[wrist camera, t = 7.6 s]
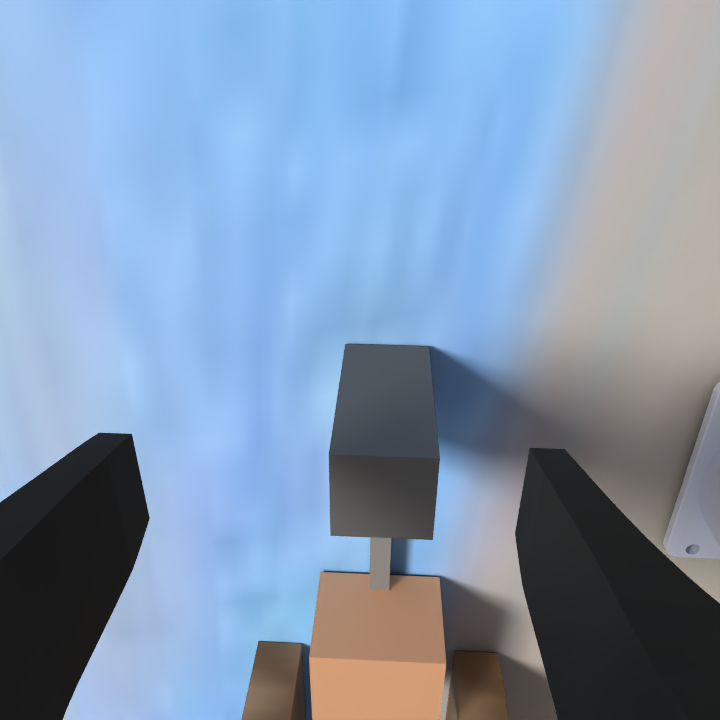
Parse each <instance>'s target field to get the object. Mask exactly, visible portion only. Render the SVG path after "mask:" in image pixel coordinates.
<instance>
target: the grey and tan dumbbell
mask: <svg viewBox="0 0 720 720" xmlns="http://www.w3.org/2000/svg"><path fill="white" fill-rule="evenodd" d="M439 461H440V456H439V445H438V435H437V425H436V415H435V404H434V394H433V384H432V373H431V363H430V353H429V346H398V345H363V344H345V350H344V356H343V363H342V370H341V377H340V383H339V390H338V397H337V403H336V410H335V417H334V424H333V430H332V437H331V444H330V450H329V481H330V528H331V536H352V537H371V545H370V574H355V573H332V572H320V579H319V587H318V594H317V602H316V609H315V617H314V624H313V632H312V640H311V647H310V655H309V664H310V684H311V704H312V720H440V714H441V705H442V696H443V688H444V679H445V670H446V654H445V641H444V628H443V615H442V602H441V589H440V577H424V576H401V575H390V559H391V538H401V539H425V540H433V531H434V519H435V508H436V496H437V485H438V473H439Z"/></svg>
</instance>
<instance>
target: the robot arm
mask: <svg viewBox="0 0 720 720" xmlns="http://www.w3.org/2000/svg"><path fill="white" fill-rule="evenodd" d="M148 521H149V514H148V509H147V504H146V500H145V495H144V490H143V485H142V480H141V476H140V471H139V466H138V461H137V456H136V452H135V447H134V442H133V437H132V434H118V433H98V434H97V435H95V436H93V437H92V438H90V439H89V440H87V441H86V442H84V443H83V444H82V445H80V446H79V447H77V448H76V449H74V450H73V451H72V452H70V453H69V454H67V455H66V456H65V457H63V458H62V459H60V460H59V461H58V462H56V463H55V464H54V465H52V466H51V467H49V468H48V469H47V470H45V471H44V472H43V473H41V474H40V475H38V476H37V477H35V478H34V479H33V480H31V481H30V482H28V483H27V484H26V485H24V486H23V487H21V488H20V489H19V490H17V491H16V492H14V493H13V494H12V495H10V496H9V497H7V498H6V499H4V500H3V501H2V502H0V720H63V717H64V714H65V712H66V709H67V707H68V705H69V702H70V700H71V698H72V696H73V693H74V691H75V689H76V686H77V684H78V682H79V680H80V678H81V676H82V674H83V672H84V670H85V668H86V666H87V663H88V661H89V659H90V657H91V655H92V653H93V651H94V649H95V647H96V645H97V643H98V641H99V639H100V637H101V635H102V633H103V631H104V629H105V626H106V624H107V622H108V620H109V618H110V616H111V614H112V612H113V610H114V608H115V606H116V604H117V602H118V600H119V597H120V595H121V593H122V591H123V589H124V587H125V585H126V583H127V581H128V578H129V576H130V574H131V572H132V570H133V567H134V564H135V561H136V559H137V556H138V553H139V550H140V547H141V544H142V541H143V537H144V534H145V531H146V528H147V525H148ZM515 536H516V543H517V551H518V558H519V565H520V572H521V579H522V585H523V589H524V593H525V597H526V601H527V605H528V609H529V612H530V616H531V620H532V624H533V627H534V631H535V635H536V638H537V642H538V646H539V650H540V653H541V657H542V661H543V664H544V668H545V672H546V675H547V679H548V683H549V686H550V690H551V694H552V697H553V701H554V705H555V709H556V713H557V717H558V720H720V603H719V602H717V601H716V600H715V599H714V598H712V597H711V596H710V595H709V594H707V593H706V592H705V591H704V590H703V589H702V588H700V587H699V586H698V585H697V584H696V583H695V582H693V581H692V580H691V579H690V578H689V577H688V576H687V575H686V574H685V573H683V572H682V571H681V570H680V569H679V568H678V567H677V566H676V565H675V564H674V563H673V562H672V561H670V560H669V559H668V558H667V557H666V556H665V555H664V554H663V553H662V552H661V551H660V550H659V549H658V548H657V547H656V546H655V545H654V544H652V543H651V542H650V541H649V540H648V539H647V538H646V537H645V536H644V535H643V534H642V533H641V532H640V531H639V530H638V529H637V527H636V526H635V525H634V524H633V523H632V522H631V521H630V520H629V519H628V518H627V517H626V516H625V515H624V514H623V513H622V512H621V511H620V510H619V509H618V508H617V507H616V506H615V504H614V503H613V502H612V501H611V500H610V499H609V498H608V497H607V496H606V495H605V493H604V492H603V491H602V490H601V489H600V488H599V487H598V486H597V485H596V484H595V482H594V481H593V480H592V479H591V478H590V477H589V476H588V475H587V473H586V472H585V471H584V470H583V469H582V468H581V467H580V466H579V465H578V463H577V462H576V461H575V460H574V459H573V458H572V457H571V456H570V455H569V453H568V452H567V451H566V450H565V449H544V448H530V450H529V456H528V462H527V468H526V473H525V479H524V485H523V491H522V497H521V502H520V508H519V514H518V520H517V526H516V532H515ZM693 544H694V545H693ZM690 545H692V546H690ZM663 546H664V548H665V550H666V552H667V554H668V555H670V556H673V557H684V558H708V559H720V381H719V382H718V383H717V384H716V386H715V387H714V389H713V392H712V395H711V398H710V401H709V404H708V407H707V410H706V413H705V416H704V419H703V422H702V425H701V428H700V431H699V435H698V438H697V441H696V444H695V447H694V450H693V453H692V456H691V459H690V462H689V465H688V468H687V471H686V474H685V477H684V480H683V483H682V486H681V489H680V492H679V495H678V498H677V501H676V504H675V507H674V510H673V513H672V516H671V519H670V522H669V525H668V528H667V531H666V534H665V537H664V540H663Z"/></svg>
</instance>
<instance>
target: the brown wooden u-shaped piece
mask: <svg viewBox="0 0 720 720" xmlns="http://www.w3.org/2000/svg"><path fill="white" fill-rule="evenodd" d="M242 720H306V710H305V693H304V676H303V659H302V644H301V643H280V642H259V641H258V646H257V651H256V655H255V660H254V665H253V669H252V674H251V678H250V683H249V688H248V692H247V697H246V702H245V706H244V711H243V716H242ZM446 720H509V717H508V711H507V705H506V698H505V692H504V686H503V679H502V673H501V667H500V660H499V654H498V653H488V652H467V651H454V656H453V665H452V673H451V681H450V689H449V697H448V705H447V713H446Z"/></svg>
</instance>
